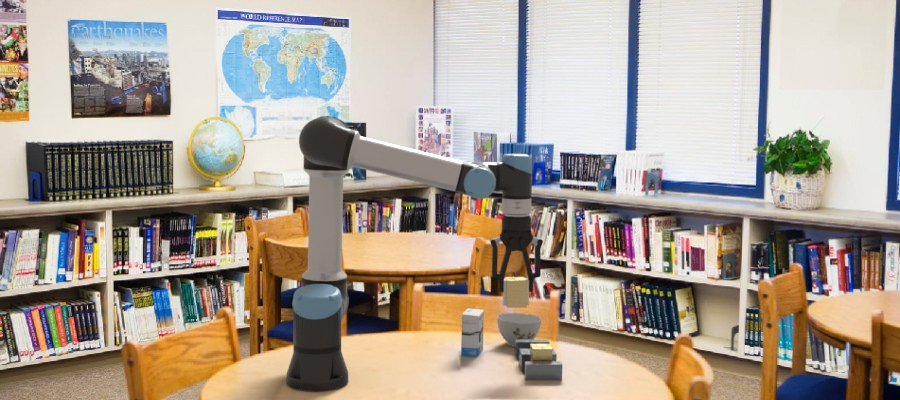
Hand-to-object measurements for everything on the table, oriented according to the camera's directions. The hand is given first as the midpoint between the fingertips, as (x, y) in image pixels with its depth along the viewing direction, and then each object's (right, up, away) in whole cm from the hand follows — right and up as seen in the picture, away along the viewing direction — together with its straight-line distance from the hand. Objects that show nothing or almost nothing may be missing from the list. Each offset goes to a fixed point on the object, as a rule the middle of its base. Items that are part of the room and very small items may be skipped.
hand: (515, 304), depth 255 cm
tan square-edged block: (0, 0, 0) cm, 0 cm away
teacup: (+3, -14, +28) cm, 31 cm away
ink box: (-11, -16, +16) cm, 25 cm away
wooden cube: (+6, -17, -3) cm, 19 cm away
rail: (+6, -17, +3) cm, 18 cm away
